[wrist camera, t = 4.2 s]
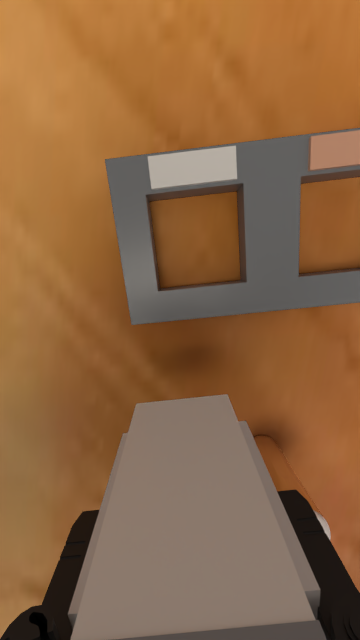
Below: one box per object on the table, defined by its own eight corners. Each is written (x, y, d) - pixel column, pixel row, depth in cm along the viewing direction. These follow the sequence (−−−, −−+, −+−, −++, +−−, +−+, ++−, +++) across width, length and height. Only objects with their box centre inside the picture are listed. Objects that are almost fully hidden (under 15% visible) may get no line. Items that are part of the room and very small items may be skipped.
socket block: (136, 319, 21) (130, 325, 19) (113, 170, 18) (103, 157, 16) (397, 292, 20) (423, 297, 18) (417, 132, 17) (452, 114, 15)
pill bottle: (235, 426, 24) (271, 539, 14) (286, 431, 24) (357, 547, 14) (228, 462, 25) (257, 590, 15) (277, 467, 25) (337, 597, 15)
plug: (147, 478, 14) (85, 964, 4) (135, 402, 13) (6, 849, 3) (233, 469, 14) (362, 941, 4) (228, 393, 13) (396, 815, 3)
